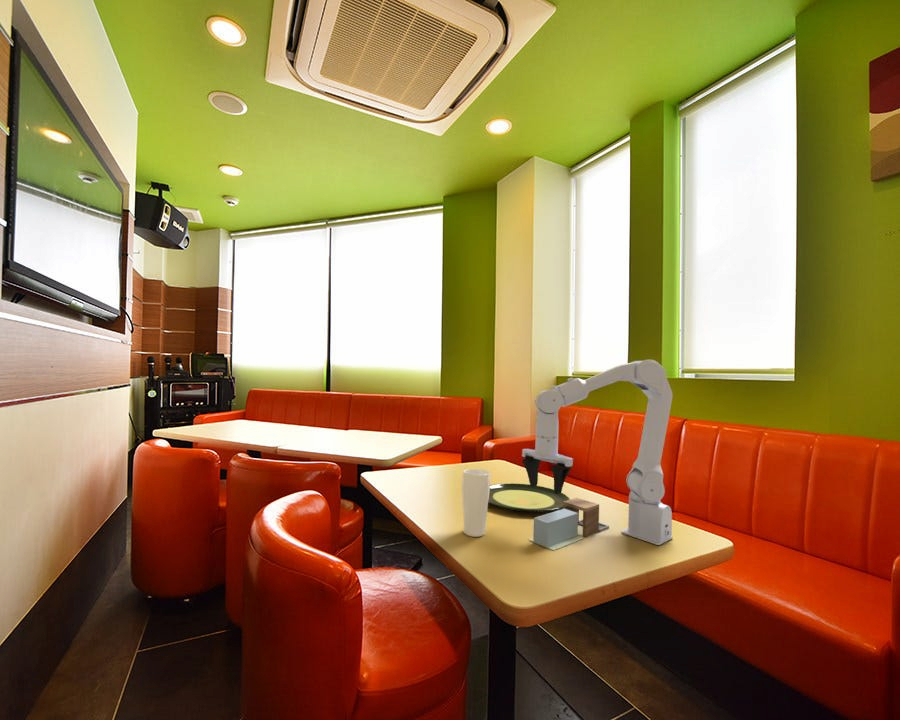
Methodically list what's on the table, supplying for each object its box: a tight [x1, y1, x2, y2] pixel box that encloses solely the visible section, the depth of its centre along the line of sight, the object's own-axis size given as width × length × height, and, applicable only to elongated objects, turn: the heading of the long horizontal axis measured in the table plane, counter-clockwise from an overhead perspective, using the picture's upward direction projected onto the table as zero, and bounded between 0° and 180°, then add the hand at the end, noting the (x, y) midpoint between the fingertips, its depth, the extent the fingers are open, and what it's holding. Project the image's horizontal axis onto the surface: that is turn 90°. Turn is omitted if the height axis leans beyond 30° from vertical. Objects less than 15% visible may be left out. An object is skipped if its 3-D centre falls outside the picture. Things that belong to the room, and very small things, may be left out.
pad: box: [528, 535, 585, 552], centre depth 100 cm, size 7×12×1 cm, turn 130°
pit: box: [578, 519, 610, 533], centre depth 110 cm, size 7×4×1 cm, turn 40°
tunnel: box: [562, 497, 600, 538], centre depth 106 cm, size 7×6×7 cm
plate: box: [488, 482, 571, 513], centre depth 128 cm, size 28×28×2 cm
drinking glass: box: [461, 468, 491, 538], centre depth 102 cm, size 7×7×15 cm
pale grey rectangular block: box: [532, 508, 579, 548], centre depth 100 cm, size 4×12×6 cm, turn 130°
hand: (545, 489), depth 107 cm, fingers open, 7 cm apart
